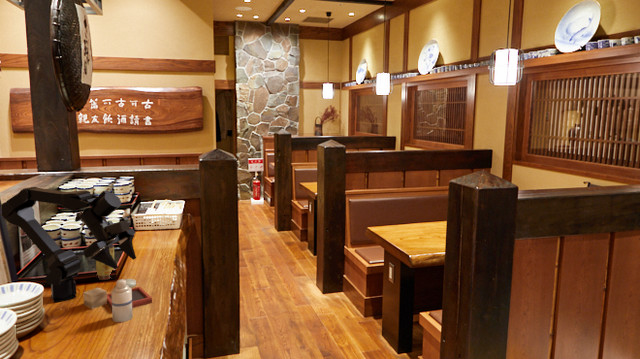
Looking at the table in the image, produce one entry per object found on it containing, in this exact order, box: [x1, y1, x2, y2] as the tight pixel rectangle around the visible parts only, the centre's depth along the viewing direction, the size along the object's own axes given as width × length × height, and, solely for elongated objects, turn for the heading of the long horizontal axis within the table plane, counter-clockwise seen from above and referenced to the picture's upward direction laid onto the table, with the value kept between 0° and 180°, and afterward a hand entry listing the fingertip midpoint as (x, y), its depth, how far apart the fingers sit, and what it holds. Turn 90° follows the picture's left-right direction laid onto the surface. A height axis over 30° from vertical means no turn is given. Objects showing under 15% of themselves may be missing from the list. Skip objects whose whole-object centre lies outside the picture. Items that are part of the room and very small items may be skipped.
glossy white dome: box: [125, 278, 137, 288], centre depth 156 cm, size 6×6×2 cm
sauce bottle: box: [95, 244, 115, 281], centre depth 161 cm, size 6×6×20 cm
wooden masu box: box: [82, 287, 108, 310], centre depth 140 cm, size 5×5×4 cm
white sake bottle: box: [111, 278, 133, 323], centre depth 131 cm, size 6×6×12 cm
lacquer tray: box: [107, 286, 153, 309], centre depth 143 cm, size 12×12×2 cm
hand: (126, 263), depth 138 cm, fingers open, 9 cm apart
